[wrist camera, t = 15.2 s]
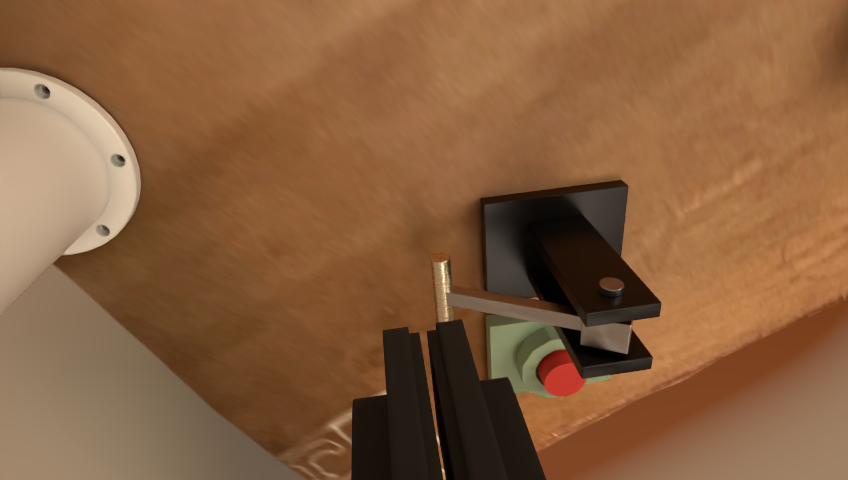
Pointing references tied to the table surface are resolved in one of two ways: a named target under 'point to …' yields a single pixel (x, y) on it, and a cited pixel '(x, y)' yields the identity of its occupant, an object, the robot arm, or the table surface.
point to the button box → (521, 352)
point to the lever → (521, 309)
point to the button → (560, 374)
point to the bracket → (570, 264)
